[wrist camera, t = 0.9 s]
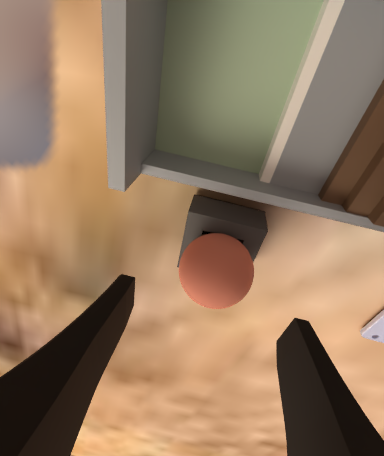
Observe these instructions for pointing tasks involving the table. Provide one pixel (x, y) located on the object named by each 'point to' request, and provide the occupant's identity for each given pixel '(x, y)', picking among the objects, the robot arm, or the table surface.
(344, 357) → the table surface
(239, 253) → the brick-red rubber ball
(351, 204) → the walnut step ramp
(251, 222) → the square tube segment
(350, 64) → the slate lane
